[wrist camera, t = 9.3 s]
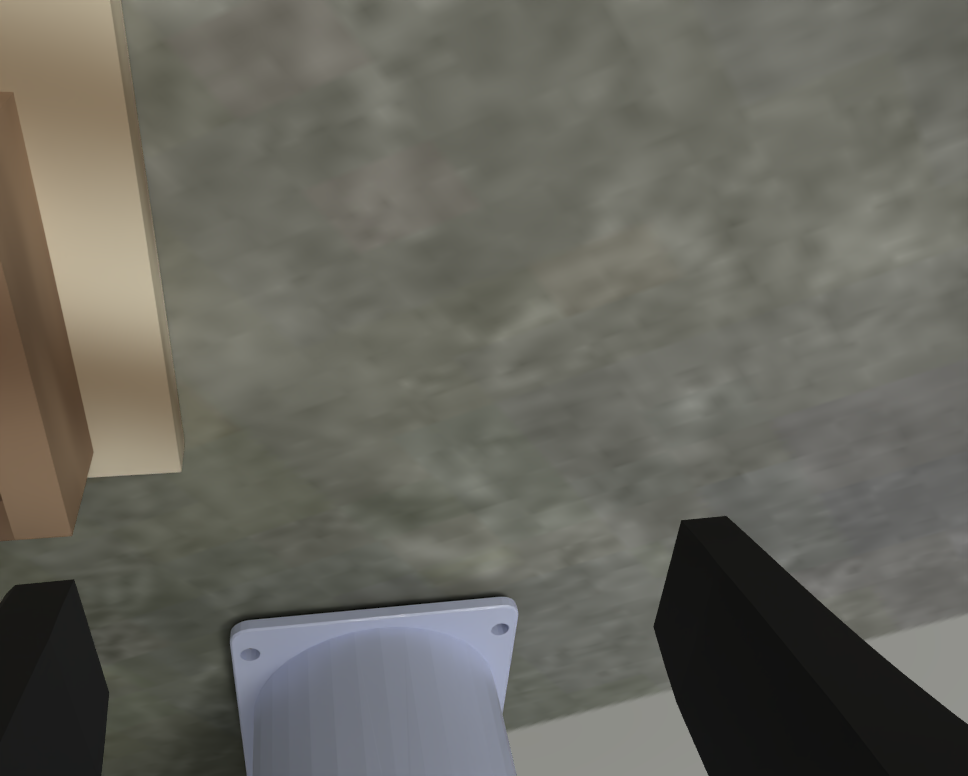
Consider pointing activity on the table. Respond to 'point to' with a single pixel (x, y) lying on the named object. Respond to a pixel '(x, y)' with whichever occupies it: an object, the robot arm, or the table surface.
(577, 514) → the table surface
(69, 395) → the socket board
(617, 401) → the table surface
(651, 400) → the table surface
